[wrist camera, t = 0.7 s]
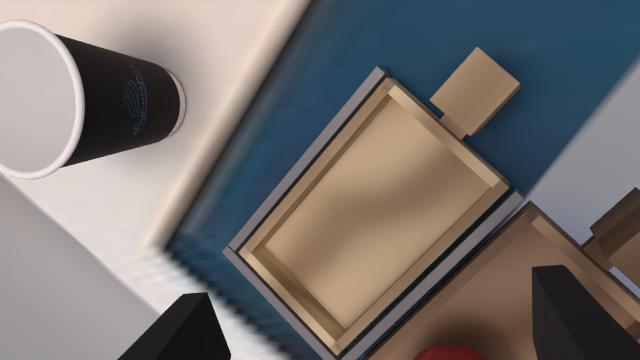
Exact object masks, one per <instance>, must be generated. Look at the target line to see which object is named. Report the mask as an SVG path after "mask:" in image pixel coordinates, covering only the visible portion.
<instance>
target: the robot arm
mask: <svg viewBox="0 0 640 360" xmlns="http://www.w3.org/2000/svg"><path fill="white" fill-rule="evenodd" d="M532 326H533V342H534V347H535V351H536V355H537V360H640V344H639V343H638V342H637V341H636V340H635V339H634V338H633V337H632V336H631V335H630V334H629V333H628V332H627V331H626V330H625V329H624V328H623V327H622V326H621V325H620V324H619V323H618V322H617V321H616V320H615V319H614V318H613V317H612V316H611V315H610V314H609V313H608V312H607V311H606V310H605V309H604V308H603V307H602V306H601V305H600V304H599V303H598V301H597V300H596V299H595V298H594V297H593V296H592V295H591V294H590V293H589V292H588V291H587V290H586V288H585V287H584V286H583V285H582V284H581V283H580V282H579V281H578V279H577V278H576V277H575V276H574V275H573V274H572V272H571V271H570V270H569V269H568V268H567V267H566V266H564V265H550V266H537V267H532ZM230 359H231V353H230V350H229V348H228V345H227V342H226V340H225V337H224V335H223V332H222V329H221V327H220V324H219V322H218V319H217V316H216V314H215V311H214V309H213V306H212V303H211V301H210V298H209V296H208V293H207V292H202V293H190V294H183V295H182V296H180V297H179V298H178V299H177V300H176V301H175V302H174V303H173V304H172V305H171V306H170V307H169V308H168V309H167V310H166V311H165V312H164V313H163V314H162V315H161V316H160V317H159V318H158V319H157V320H156V321H155V322H154V323H153V324H152V325H151V326H150V327H149V329H147V330H146V332H145V333H144V334H143V335H142V336H141V337H140V338H139V339H138V340H137V341H136V342H135V343H134V344H133V345H132V346H131V347H130V348H129V349H128V350H127V351H126V352H125V353H124V354H123V355H122V356H121V357H120V358H119V359H118V360H230Z"/></svg>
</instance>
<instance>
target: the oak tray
mask: <svg viewBox="0 0 640 360" xmlns="http://www.w3.org/2000/svg"><path fill="white" fill-rule="evenodd" d="M520 89H521V87H520V83H519V82H518V81H517V80H516V79H514V78H513V77H512V76H511V75H510V74H509V73H507V72H506V71H505V70H504V69H503V68H502V67H500V66H499V65H498V64H497V63H496V62H495V61H493V60H492V59H491V58H490V57H489V56H488V55H486V54H485V53H484V52H483V51H482V50H481V49H479V48H478V47H476V49H475V50H474V51H473V52H472V53H471V54H470V55H469V56H468V57H467V59H466V60H465V61H464V62H463V63H462V64H461V65H460V66H459V68H458V69H457V70H456V71H455V72H454V73H453V74H452V75H451V76H450V78H449V79H448V80H447V81H446V82H445V83H444V84H443V85H442V87H441V88H440V89H439V90H438V91H437V92H436V93H435V94H434V95H433V97H432V98H431V99H430V101H431V102H432V103H433V104H435V105H436V106H437V107H438V108H439V109H440V110H441V111H442V112H444V113H445V114H444V115H443V117H442V118H441V119H439V118H438V117H437V116H436V115H435V114H434V113H433V112H432V111H430V110H429V109H428V108H427V107H426V106H425V105H424V104H423V103H422V102H420V101H419V100H418V99H417V98H416V97H415V96H414V95H413V94H412V93H410V92H409V91H408V90H407V89H406V88H405V87H404V86H403V85H402V84H400V83H399V82H398V81H397V80H396V79H392V78H388V77H387V78H386V79H385V80H384V81H383V82H382V84H381V85H380V86H379V87H378V88H377V90H376V91H375V92H374V93H373V94H372V95H371V97H370V98H369V99H368V100H367V101H366V103H365V104H364V105H363V106H362V107H361V108H360V110H359V111H358V112H357V113H356V114H355V115H354V117H353V118H352V119H351V120H350V121H349V123H348V124H347V125H346V126H345V127H344V128H343V130H342V131H341V132H340V133H339V134H338V136H337V137H336V138H335V139H334V140H333V141H332V143H331V144H330V145H329V146H328V147H327V149H326V150H325V151H324V152H323V153H322V154H321V156H320V157H319V158H318V159H317V160H316V162H315V163H314V164H313V165H312V166H311V167H310V169H309V170H308V171H307V172H306V173H305V175H304V176H303V177H302V178H301V179H300V180H299V182H298V183H297V184H296V185H295V186H294V188H293V189H292V190H291V191H290V192H289V193H288V195H287V196H286V197H285V198H284V199H283V200H282V202H281V203H280V204H279V205H278V206H277V208H276V209H275V210H274V211H273V212H272V213H271V215H270V216H269V217H268V218H267V219H266V221H265V222H264V223H263V224H262V225H261V226H260V228H259V229H258V230H257V231H256V232H255V234H254V235H253V236H252V237H251V238H250V239H249V241H248V242H247V243H246V244H245V245H244V247H243V248H242V249H241V250H240V251H239V252H238V253H239V254H240V255H241V256H242V257H243V258H244V259H245V260H246V261H247V262H248V263H249V264H250V265H251V266H252V267H253V268H254V269H255V270H256V272H257V273H258V274H259V275H260V276H261V277H262V278H263V279H264V280H265V281H266V282H267V283H268V284H269V285H270V286H271V287H272V288H273V289H274V290H275V291H276V292H277V294H278V295H279V296H280V297H281V298H282V299H283V300H284V301H285V302H286V303H287V304H288V305H289V306H290V307H291V308H292V309H293V310H294V311H295V312H296V313H297V314H298V316H299V317H300V318H301V319H302V320H303V321H304V322H305V323H306V324H307V325H308V326H309V327H310V328H311V329H312V330H313V331H314V332H315V333H316V334H317V335H318V336H319V338H320V339H321V340H322V341H323V342H324V343H325V344H326V345H327V346H328V347H329V348H330V349H331V350H332V351H333V352H334V353H335V354H336V355H338V354H339V353H340V352H341V351H342V350H343V349H344V348H345V347H346V346H347V345H348V344H349V343H350V342H351V341H352V340H353V339H354V338H355V337H356V336H358V335H359V334H360V333H361V332H362V331H363V330H364V329H365V328H366V327H367V326H368V325H369V324H370V323H371V322H372V321H373V320H374V319H375V318H376V317H377V316H378V315H379V314H380V313H381V312H382V311H383V310H384V309H385V308H386V307H387V306H388V305H389V304H390V303H391V302H392V301H394V300H395V299H396V298H397V297H398V296H399V295H400V294H401V293H402V292H403V291H404V290H405V289H406V288H407V287H408V286H409V285H410V284H411V283H412V282H413V281H414V280H415V279H416V278H417V277H418V276H419V275H420V274H421V273H422V272H423V271H424V270H425V269H426V268H427V267H428V266H429V265H431V264H432V263H433V262H434V261H435V260H436V259H437V258H438V257H439V256H440V255H441V254H442V253H443V252H444V251H445V250H446V249H447V248H448V247H449V246H450V245H451V244H452V243H453V242H454V241H455V240H456V239H457V238H458V237H459V236H460V235H461V234H462V233H463V232H464V231H465V230H466V229H468V228H469V227H470V226H471V225H472V224H473V223H474V222H475V221H476V220H477V219H478V218H479V217H480V216H481V215H482V214H483V213H484V212H485V211H486V210H487V209H488V208H489V207H490V206H491V205H492V204H493V203H494V202H495V201H496V200H497V199H498V198H499V197H500V196H501V195H502V194H504V193H505V192H506V191H507V190H508V189H509V187H510V182H509V181H508V180H507V179H506V178H505V177H504V176H503V175H502V174H501V173H499V172H498V171H497V170H496V169H495V168H494V167H493V166H492V165H491V164H489V163H488V162H487V161H486V160H485V159H484V158H483V157H482V156H481V155H479V154H478V153H477V152H476V151H475V150H474V149H473V148H472V147H471V146H469V145H468V144H467V143H466V142H465V141H464V140H463V138H464V137H465V136H466V135H467V134H468V135H469V136H471V135H473V134H475V133H477V132H479V131H481V130H482V129H483V128H484V127H485V126H486V125H487V123H488V122H489V121H490V120H491V119H492V118H493V117H494V116H495V115H496V114H497V113H498V112H499V111H500V110H501V109H502V108H503V107H504V106H505V105H506V104H507V103H508V102H509V101H510V99H511V98H512V97H513V96H514V95H515V94H516V93H517V92H518V91H519V90H520Z"/></svg>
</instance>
